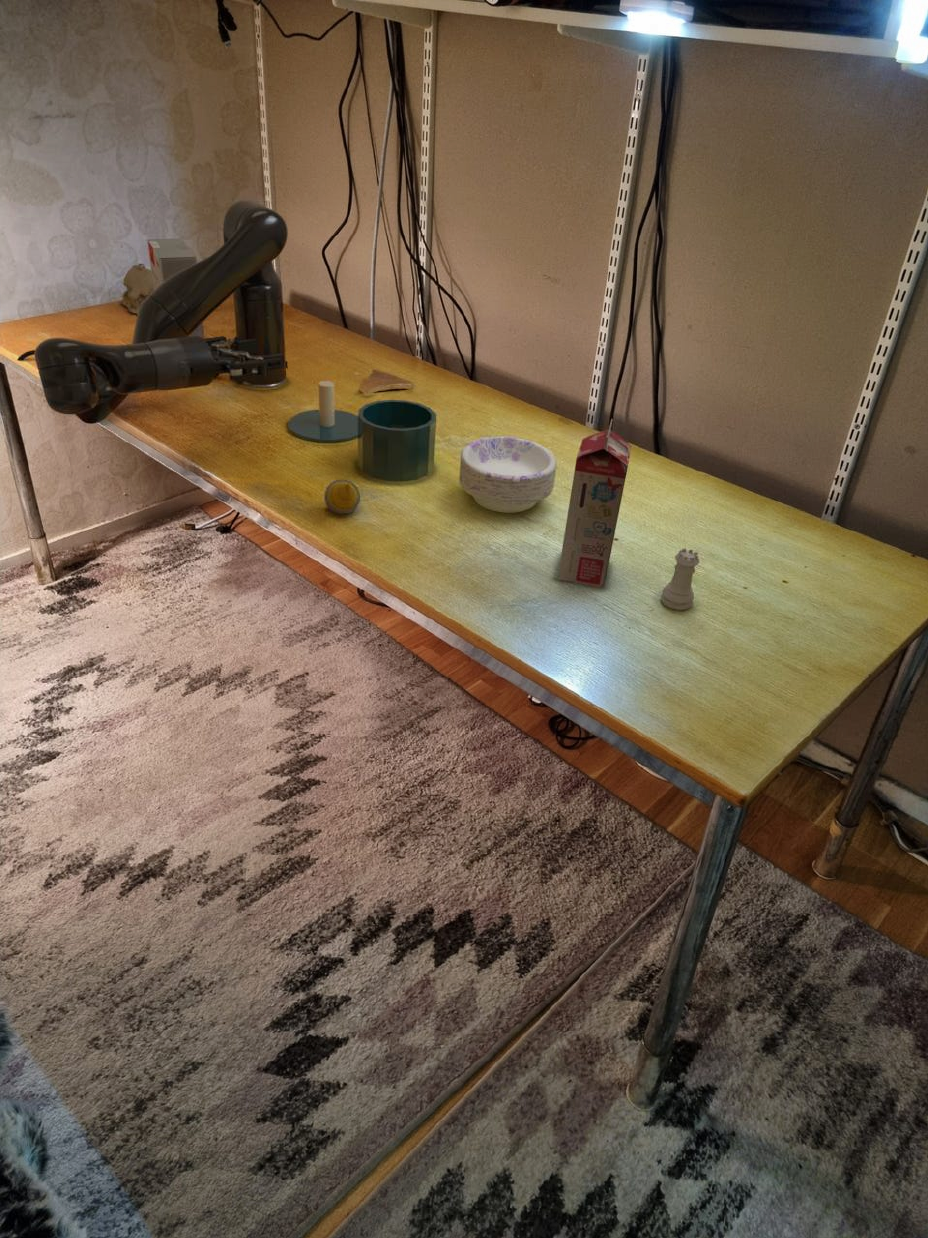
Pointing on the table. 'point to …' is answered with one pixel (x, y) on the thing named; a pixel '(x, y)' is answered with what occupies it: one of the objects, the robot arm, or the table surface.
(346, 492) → the drill bit
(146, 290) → the ceramic model
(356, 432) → the lid
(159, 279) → the hard drive box
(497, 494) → the paper bowls
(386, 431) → the pot
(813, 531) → the table surface
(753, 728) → the table surface
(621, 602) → the table surface
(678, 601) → the rook chess piece
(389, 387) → the pottery shard
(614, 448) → the juice carton
